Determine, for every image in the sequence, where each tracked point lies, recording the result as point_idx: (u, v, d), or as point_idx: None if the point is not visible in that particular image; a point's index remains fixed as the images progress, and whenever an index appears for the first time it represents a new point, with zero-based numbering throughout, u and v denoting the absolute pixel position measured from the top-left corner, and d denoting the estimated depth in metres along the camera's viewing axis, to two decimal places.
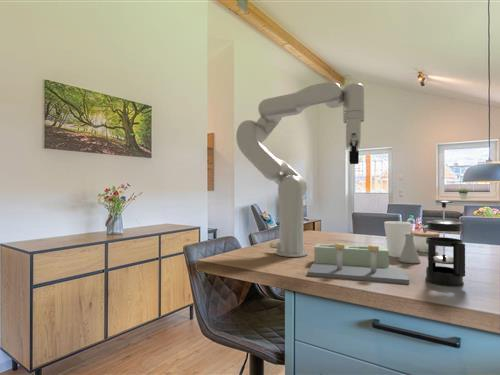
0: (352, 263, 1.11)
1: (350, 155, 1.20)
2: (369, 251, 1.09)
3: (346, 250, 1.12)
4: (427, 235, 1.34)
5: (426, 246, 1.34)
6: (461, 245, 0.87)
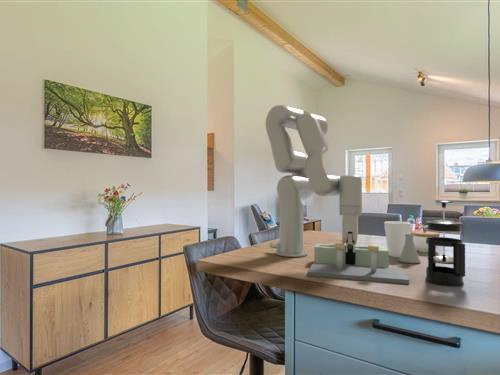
0: None
1: (346, 257, 1.11)
2: (369, 251, 1.09)
3: None
4: (427, 235, 1.34)
5: (426, 246, 1.34)
6: (461, 245, 0.87)
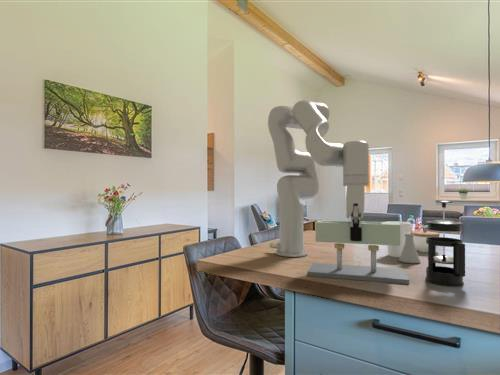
0: None
1: (351, 232, 0.98)
2: (378, 225, 0.97)
3: None
4: (427, 235, 1.34)
5: (426, 246, 1.34)
6: (461, 245, 0.87)
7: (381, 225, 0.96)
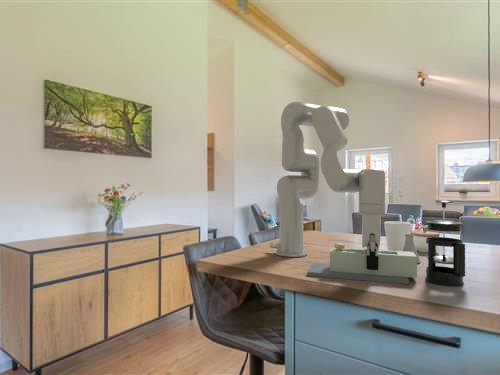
0: (374, 270, 0.97)
1: (367, 261, 0.96)
2: (394, 256, 0.95)
3: None
4: (427, 235, 1.34)
5: (426, 246, 1.34)
6: (461, 245, 0.87)
7: (397, 256, 0.95)
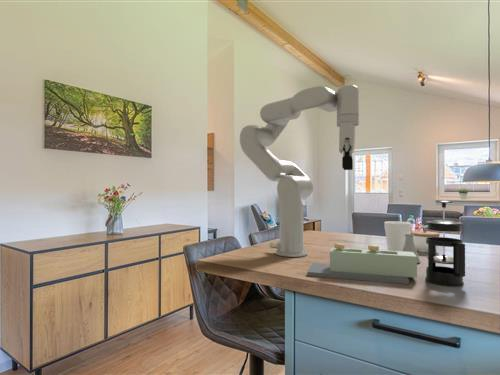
0: (374, 270, 0.97)
1: (343, 161, 1.13)
2: (394, 256, 0.95)
3: (367, 255, 0.98)
4: (427, 235, 1.34)
5: (426, 246, 1.34)
6: (461, 245, 0.87)
7: (397, 256, 0.95)
